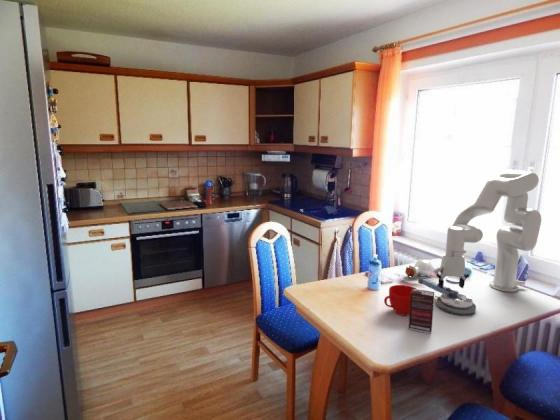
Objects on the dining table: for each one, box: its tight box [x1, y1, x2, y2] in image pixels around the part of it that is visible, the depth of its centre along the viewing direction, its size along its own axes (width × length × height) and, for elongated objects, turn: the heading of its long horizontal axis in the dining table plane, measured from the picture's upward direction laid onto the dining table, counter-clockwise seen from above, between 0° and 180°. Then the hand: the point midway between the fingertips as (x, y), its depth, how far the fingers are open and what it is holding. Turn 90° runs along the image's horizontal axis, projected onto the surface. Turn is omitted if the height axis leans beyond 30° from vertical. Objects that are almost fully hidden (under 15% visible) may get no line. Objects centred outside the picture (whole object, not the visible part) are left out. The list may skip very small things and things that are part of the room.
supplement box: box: [408, 288, 435, 334], centre depth 147 cm, size 9×5×16 cm, turn 65°
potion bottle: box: [404, 258, 434, 278], centre depth 204 cm, size 9×10×15 cm
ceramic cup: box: [383, 284, 417, 316], centre depth 161 cm, size 13×17×10 cm
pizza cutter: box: [417, 276, 474, 309], centre depth 173 cm, size 13×28×5 cm, turn 24°
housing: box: [434, 295, 477, 317], centre depth 167 cm, size 16×16×2 cm
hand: (451, 286), depth 178 cm, fingers open, 9 cm apart
